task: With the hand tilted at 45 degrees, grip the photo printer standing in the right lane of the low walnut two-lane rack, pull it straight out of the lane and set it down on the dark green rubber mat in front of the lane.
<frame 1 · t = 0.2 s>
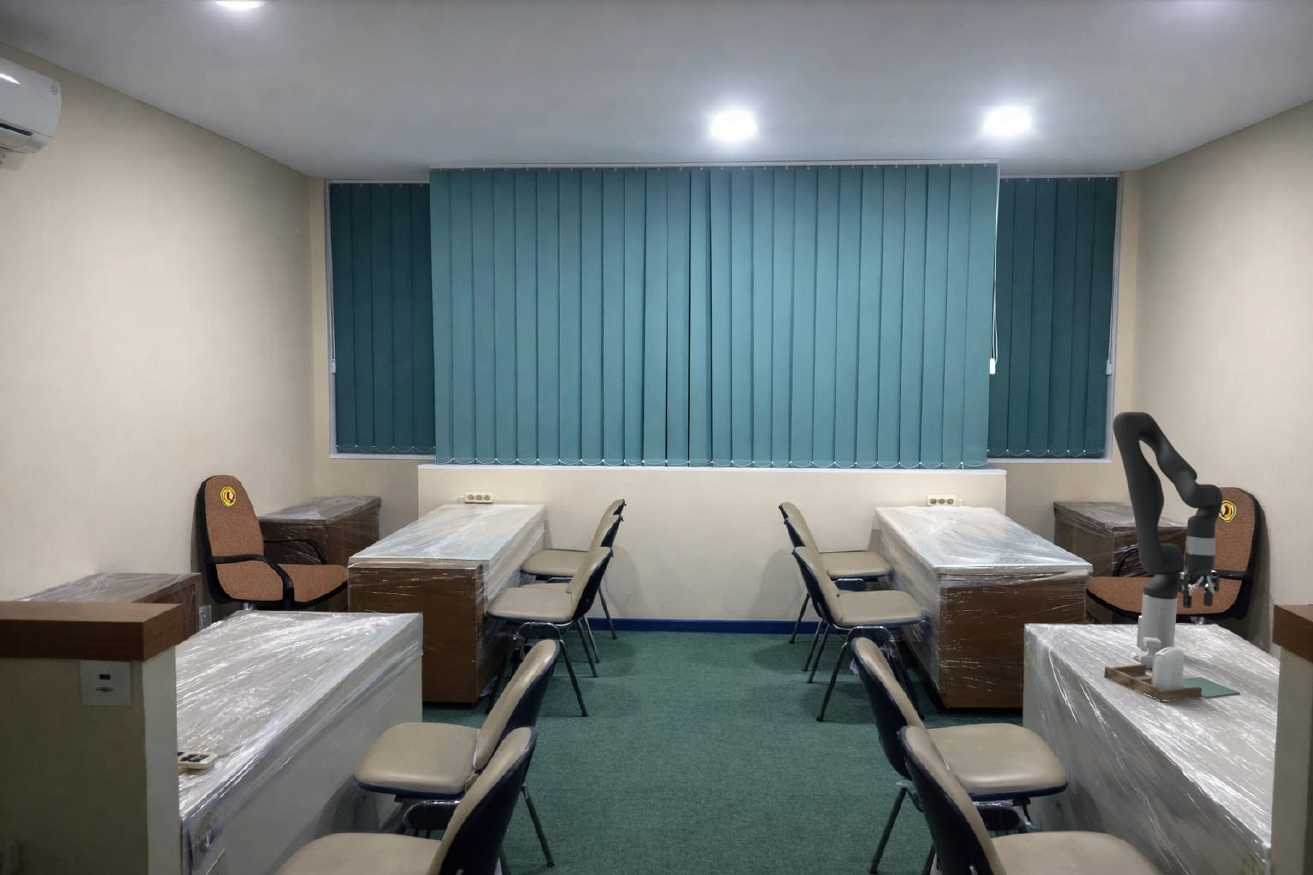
hand: (1197, 606, 261), 17 cm above the table, tool pointing down, fingers open, 8 cm apart
photo printer: (1166, 693, 240), resting in lane rack
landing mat: (1203, 687, 244), on the table
lane rack: (1166, 692, 240), on the table
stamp: (1150, 667, 260), on the table
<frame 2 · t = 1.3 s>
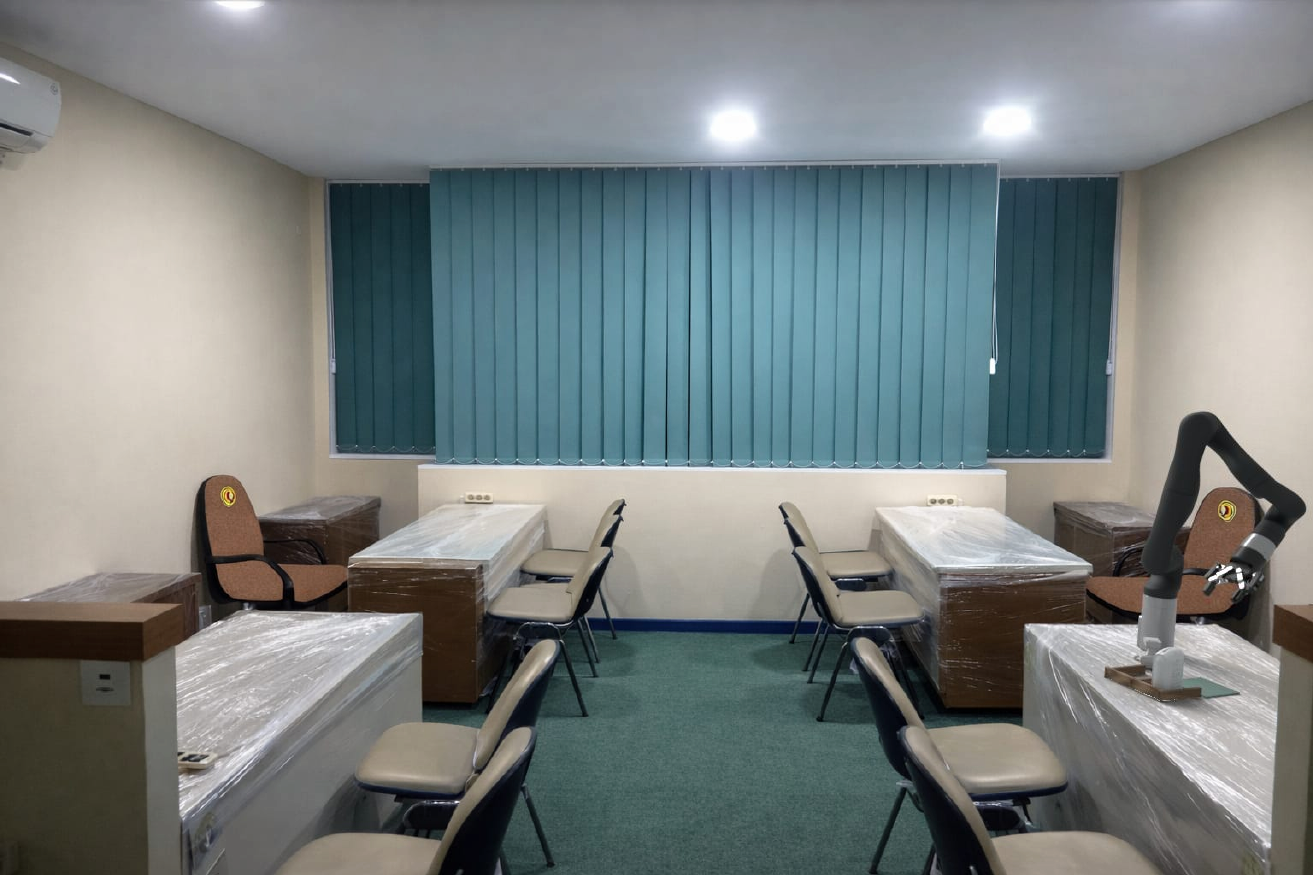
hand: (1218, 597, 243), 25 cm above the table, tool tilted 45°, fingers open, 8 cm apart
nothing on the table moved.
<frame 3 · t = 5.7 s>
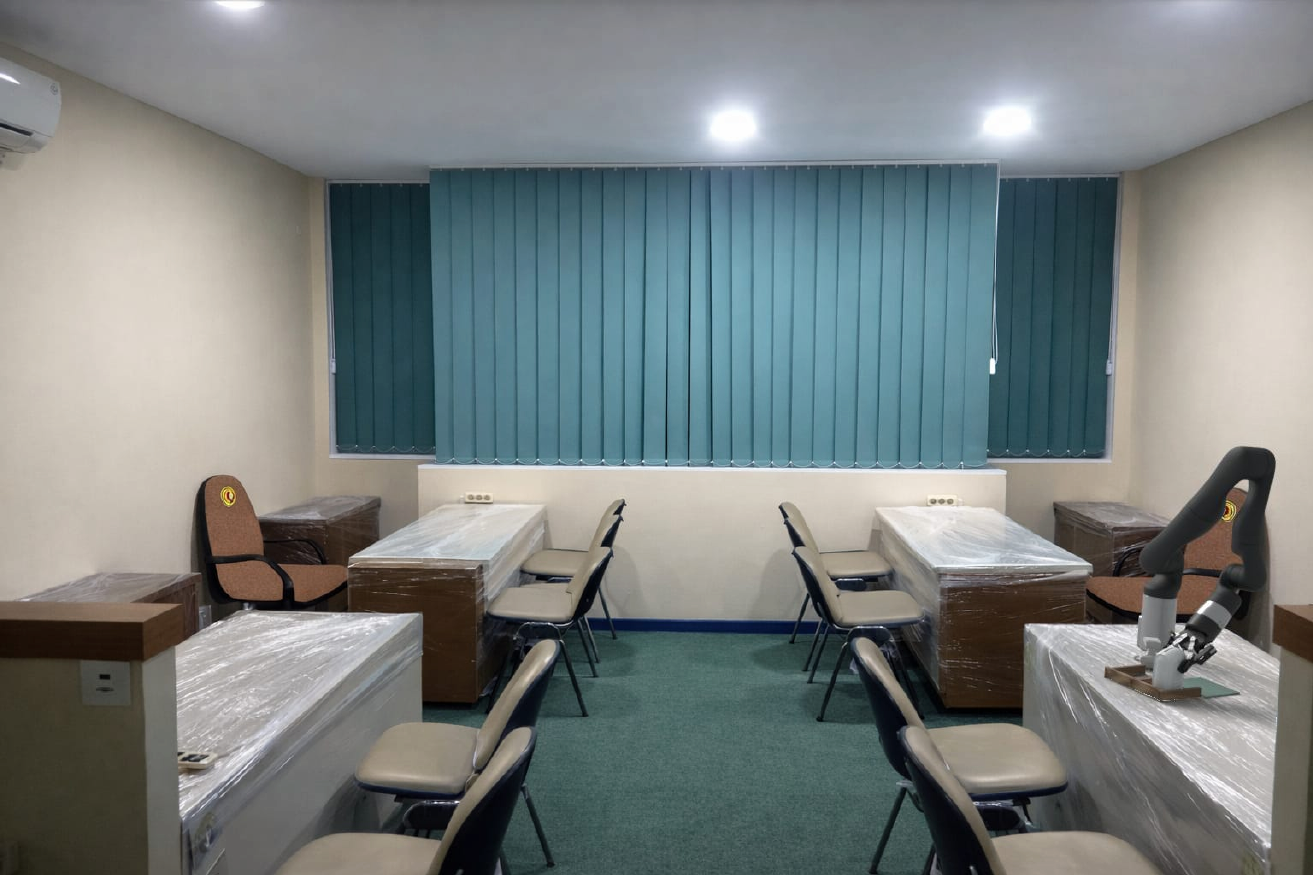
hand: (1170, 667, 240), 7 cm above the table, tool tilted 45°, fingers closed on photo printer, 5 cm apart
photo printer: (1166, 692, 240), resting in lane rack, touching gripper
everything else where it was.
when the fingers open (7 cm above the table, at t = 10.1 s): photo printer stays where it is, resting on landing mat.
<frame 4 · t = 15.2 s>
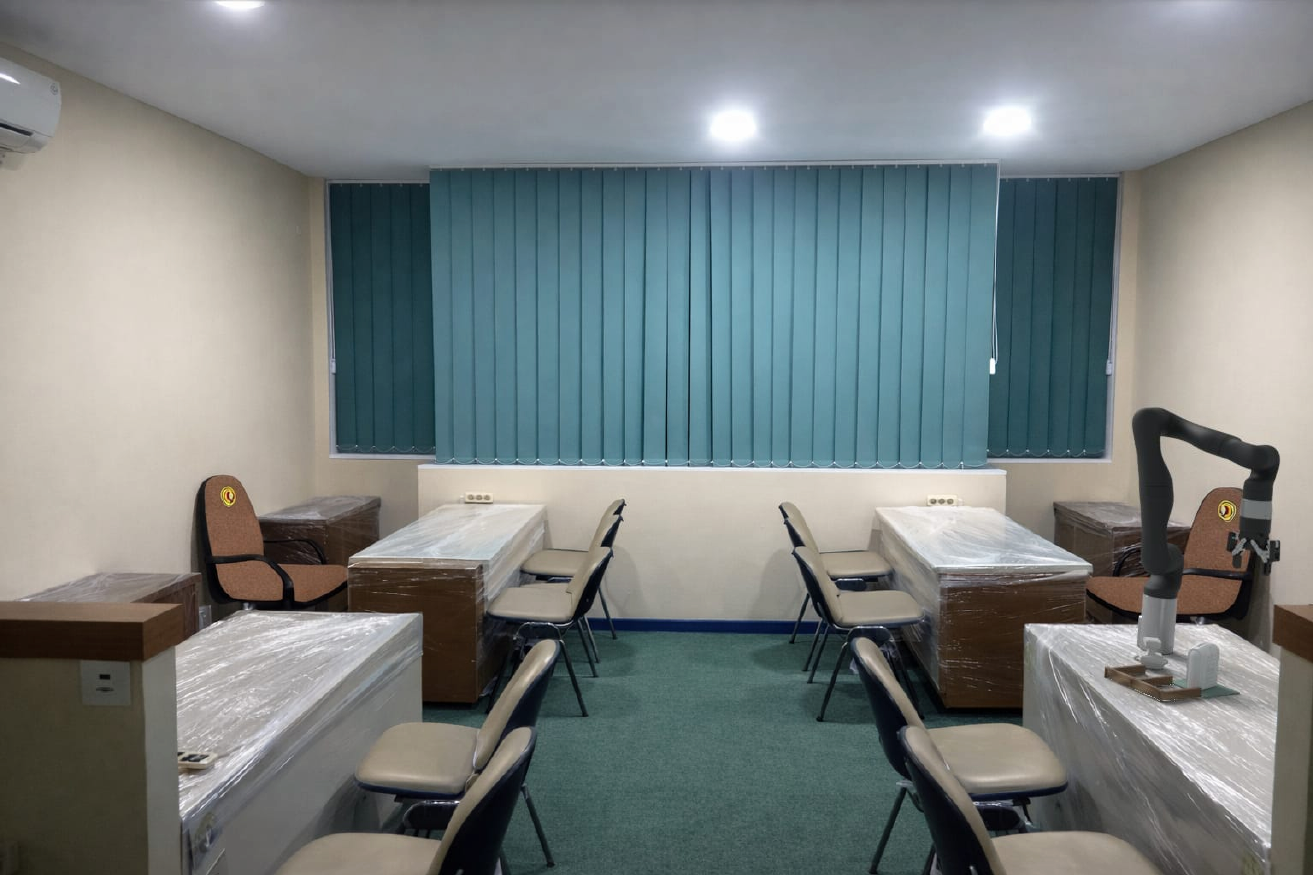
hand: (1251, 571, 252), 30 cm above the table, tool pointing down, fingers open, 8 cm apart
photo printer: (1201, 687, 244), resting on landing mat
everything else where it was.
at the end: photo printer inside the target area (0.8 cm from its centre), resting on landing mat; photo printer tilted 0°; the gripper is holding nothing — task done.
